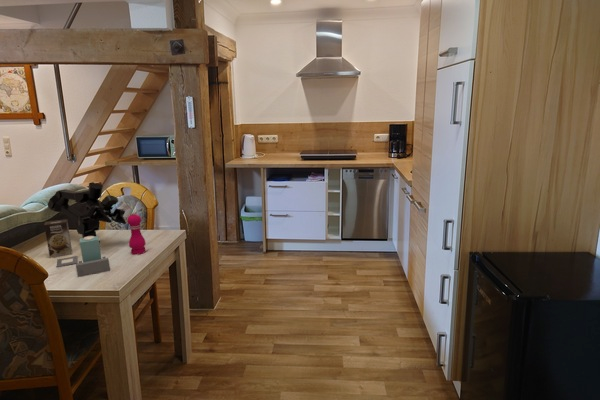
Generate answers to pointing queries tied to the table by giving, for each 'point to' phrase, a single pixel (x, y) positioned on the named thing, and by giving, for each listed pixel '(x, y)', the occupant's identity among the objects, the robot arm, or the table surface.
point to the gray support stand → (92, 267)
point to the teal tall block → (90, 248)
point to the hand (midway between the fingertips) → (118, 222)
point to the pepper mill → (136, 234)
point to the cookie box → (58, 238)
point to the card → (67, 261)
